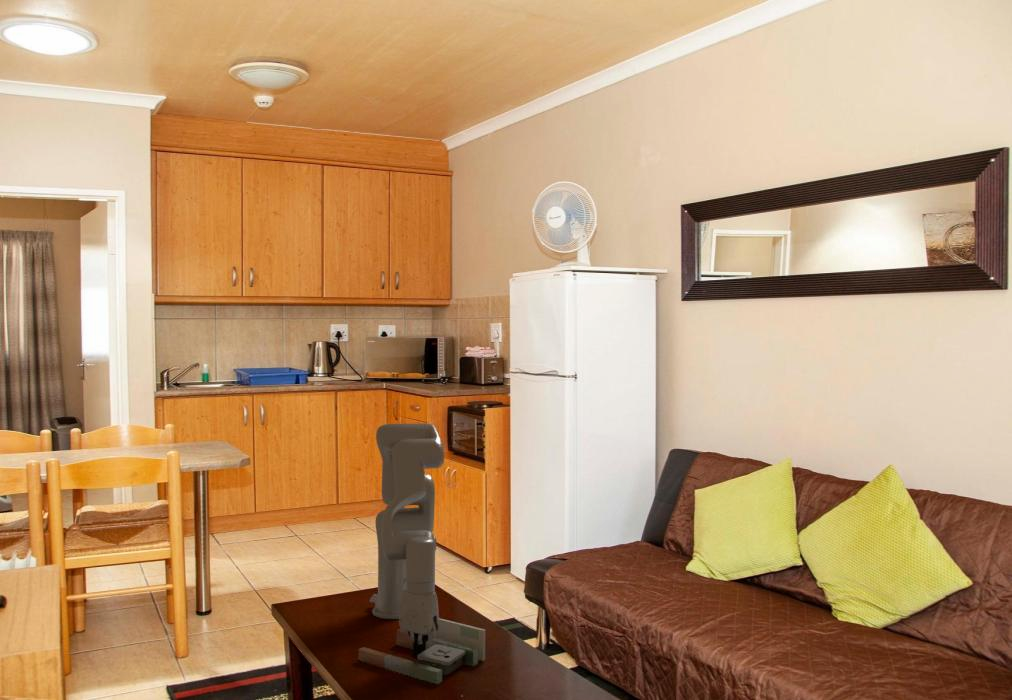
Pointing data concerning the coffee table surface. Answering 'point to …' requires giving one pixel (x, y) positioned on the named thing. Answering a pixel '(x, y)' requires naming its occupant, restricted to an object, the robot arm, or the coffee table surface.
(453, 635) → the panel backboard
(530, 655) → the coffee table surface
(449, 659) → the electrical switch
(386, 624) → the coffee table surface
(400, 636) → the far rail
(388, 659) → the near rail
